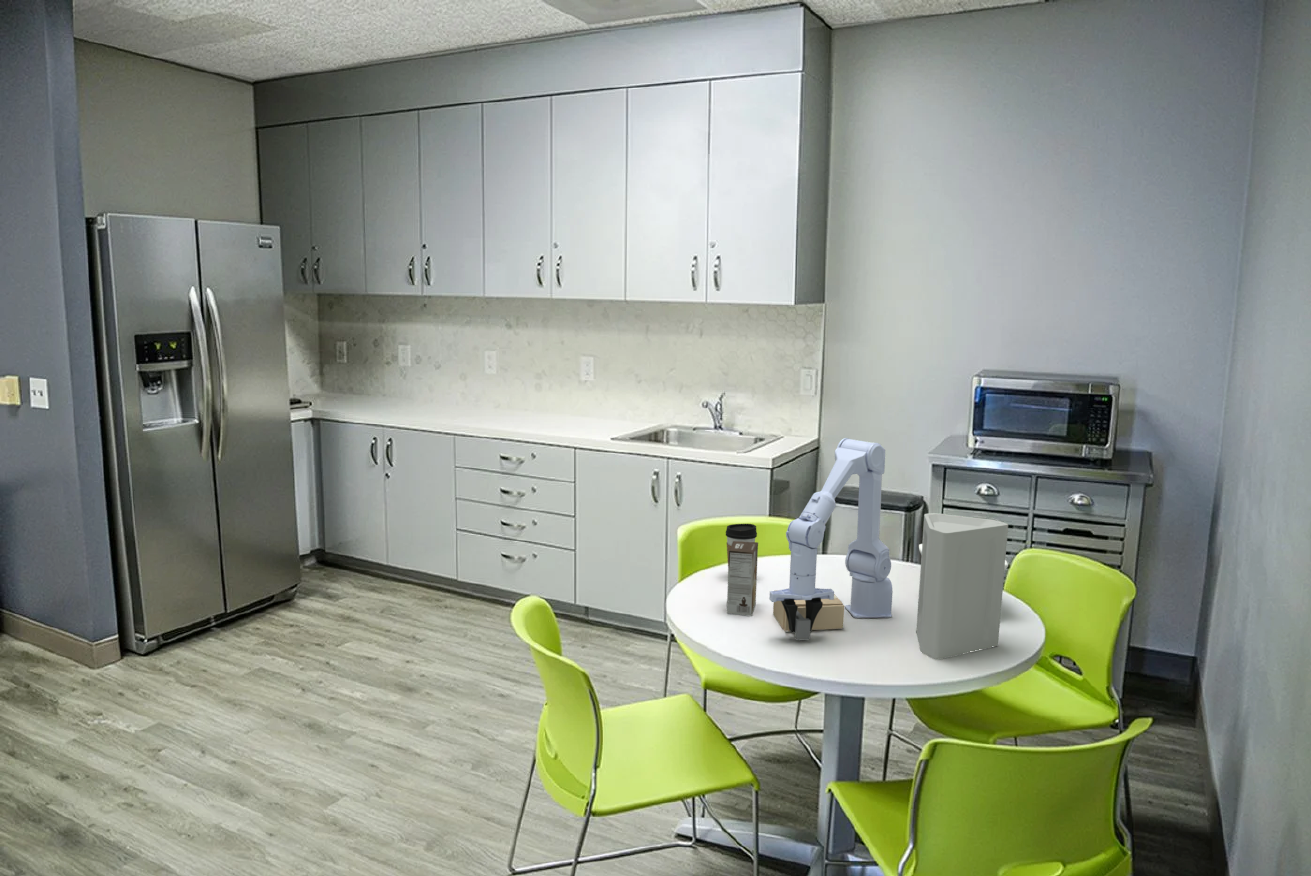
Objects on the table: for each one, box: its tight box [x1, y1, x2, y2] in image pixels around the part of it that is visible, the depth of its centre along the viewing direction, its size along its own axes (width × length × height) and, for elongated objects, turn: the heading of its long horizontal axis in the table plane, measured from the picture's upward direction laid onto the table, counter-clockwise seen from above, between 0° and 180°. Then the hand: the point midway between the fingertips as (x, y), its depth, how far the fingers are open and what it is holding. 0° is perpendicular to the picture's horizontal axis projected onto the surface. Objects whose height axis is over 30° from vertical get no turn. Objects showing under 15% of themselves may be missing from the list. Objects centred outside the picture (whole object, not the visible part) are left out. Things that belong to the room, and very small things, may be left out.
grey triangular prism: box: [915, 512, 1009, 660], centre depth 207 cm, size 19×15×28 cm
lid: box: [783, 604, 845, 641], centre depth 211 cm, size 14×7×6 cm, turn 100°
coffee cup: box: [725, 523, 758, 563], centre depth 250 cm, size 8×8×15 cm
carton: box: [772, 589, 844, 630], centre depth 220 cm, size 14×10×6 cm
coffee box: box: [726, 541, 759, 617], centre depth 227 cm, size 9×6×16 cm
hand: (800, 630), depth 209 cm, fingers open, 3 cm apart
